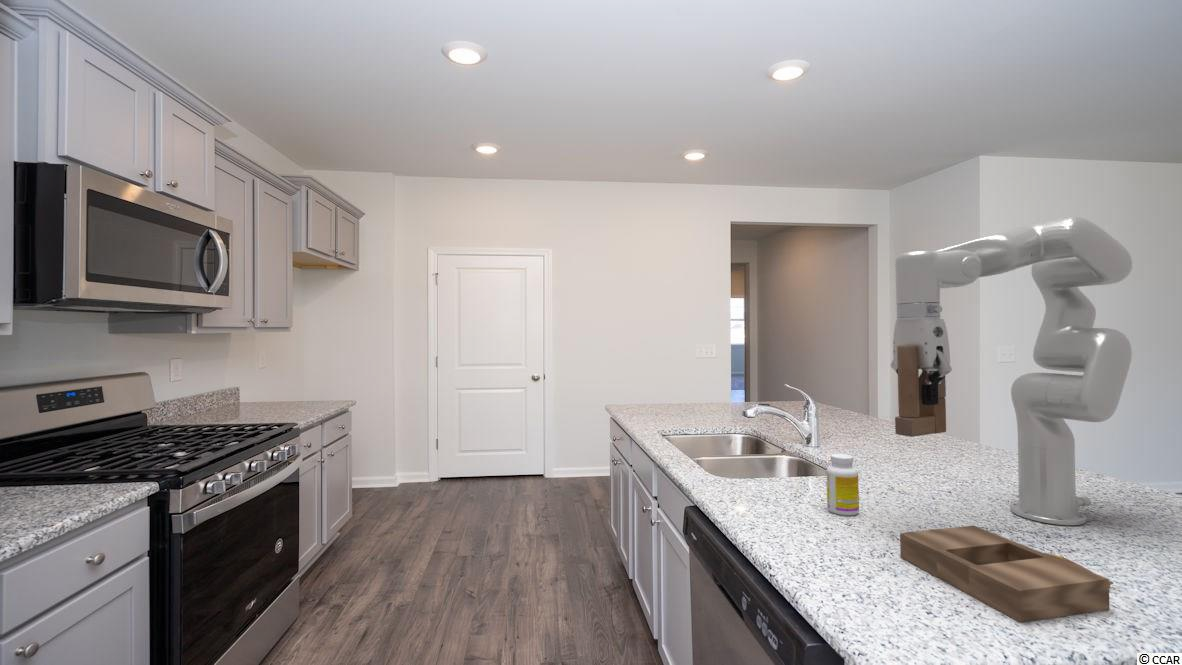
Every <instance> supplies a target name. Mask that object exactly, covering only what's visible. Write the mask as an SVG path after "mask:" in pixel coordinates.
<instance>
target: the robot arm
mask: <svg viewBox="0 0 1182 665" xmlns="http://www.w3.org/2000/svg"><path fill="white" fill-rule="evenodd" d="M1030 265H1031V277H1032V279H1033V281H1034V283H1035V285H1036V286H1037V288H1038V289H1039V292H1040V294H1041V295H1042V298H1043V301H1044V306H1045V309H1044V311H1045V312H1044V315H1043V319H1042V322H1041V324H1040V328H1039V330H1038V331H1039V332H1038V335H1037V337H1036V341H1035V343H1034V347H1033V354H1032V357H1033V361H1034V363H1035V364H1036V365H1037V366H1039V367H1040V368H1042V369H1047V370H1052V371H1060V372H1070V373H1071V372H1073V373H1083V374H1082V375H1081V374H1080V375H1079V374H1065V373H1055V372H1053V373H1052V372H1029V373H1026V374H1022V375H1020V376H1019V377H1017V378H1016V379H1015V380H1014V381H1013V383H1012V384H1011V387H1010V394H1011V401H1012V404H1013V408H1014V409H1013V410H1014V412H1015V417H1016V426H1017V428H1016V429H1017V464H1018V465H1017V466H1018V467H1017V468H1018V470H1017V472H1018V473H1017V474H1018V476H1017V477H1018V501H1014V502H1012V503H1010V504H1009V506H1010V507H1009V508H1010V511H1011V512H1012V513H1013V514H1015V515H1017V516H1019V517H1022V518H1025V519H1028V520H1031V521H1035V522H1040V523H1045V524H1050V525H1051V524H1052V525H1058V526H1059V525H1060V526H1080V525H1084V524H1085V523H1087V517H1086V515H1085V514H1083V513H1082V512H1080V511H1079V509H1080V508H1081V507H1089V506H1091V505H1092V500H1091V499H1090V498H1089V497H1088V496H1083V497H1082V496H1081V497H1080V496H1079V497H1078V496H1076V495H1077V494H1076V492H1077V491H1076V489H1077V488H1076V442H1075V437H1074V434H1073V431H1072V430H1071V428H1070V427H1069V424H1068V423H1067V422H1066V421H1065V420H1072V421H1078V422H1079V421H1080V422H1085V423H1101V422H1105V421H1107V420H1109V419H1111V418H1112V416H1113V415H1114V414H1115V413H1116V410H1117V408H1118V406H1119V404H1120V403H1119V402H1120V399H1121V396H1122V393H1123V389H1124V387H1125V383H1126V380H1127V377H1128V373H1129V371H1130V366H1131V364H1132V363H1131V362H1132V356H1133V353H1132V352H1133V351H1132V346H1131V342H1130V340H1129V338H1128V336H1126V335H1125V334H1124V333H1123V332H1122V331H1120V330H1117V329H1113V328H1107V327H1094V325H1095V324H1094V323H1095V320H1096V317H1097V316H1096V315H1097V311H1096V308H1095V305H1094V304H1093V303H1092V301H1091V300H1090V299H1089V298H1088V297H1087V295H1085V294H1084V292H1082V291H1081V290H1080V289H1079V287H1093V286H1104V285H1105V286H1107V285H1113V284H1117V283H1120V282H1122V281H1123V280H1125V279H1126V278H1128V276H1129V275H1130V274H1131V272H1132V269H1133V260H1132V255H1130V252H1129V251H1128V250H1127V248H1126V247H1125V246H1124V245H1123V244H1122V243H1120V242H1119V241H1118V240H1117V239H1115V238H1114V237H1112V235H1110V234H1109V233H1108V232H1107V231H1105V229H1103V228H1101V227H1100V226H1099V225H1097V224H1096V223H1093V222H1092V221H1090V220H1088V219H1087V218H1086V219H1085V218H1083V217H1079V216H1068V217H1062V218H1056V219H1052V220H1048V221H1046V220H1045V221H1041V222H1036V223H1030V224H1027V225H1023V226H1019V227H1015V228H1013V229H1009V230H1006V231H1003V232H999V233H995V234H992V235H988V236H984V237H981V238H980V237H979V238H977V239H973V240H970V241H969V240H968V241H967V242H964V243H960V244H957V245H956V244H955V245H954V246H949V247H946V248H942V249H938V250H934V251H932V250H916V251H915V250H914V251H908V252H904V253H901V254H899V255H897V257H896V259H895V290H896V291H895V294H896V296H895V298H896V320H895V324H894V330H893V340H892V358H893V359H892V361H891V363H890V367H891V369H893V370H894V371H895V373H896V374H897V375H898V366H897V346H899V345H916V346H917V347H918V368H919V370H921V373H923V378H924V383H925V384H924V385H922V403H923V405H936V404H938V384H941V380H942V379H943V378H944V377H945V378H946V376H947V375H948V374H949V373H950V372H952V370H953V369H952V366H951V352H950V342H949V336H948V335H949V334H948V330H947V326H946V323H945V319H943V318H941V313H942V312H943V307H942V306H941V289H951V288H959V287H965V286H968V285H971V284H973V283H974V282H975V281H977V279H979V278H984V277H990V276H996V275H1002V274H1005V273H1008V272H1011V271H1015V270H1017V269H1021V268H1024V267H1028V266H1030ZM938 368H939V369H938ZM930 372H932V375H931V376H930Z"/></svg>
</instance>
